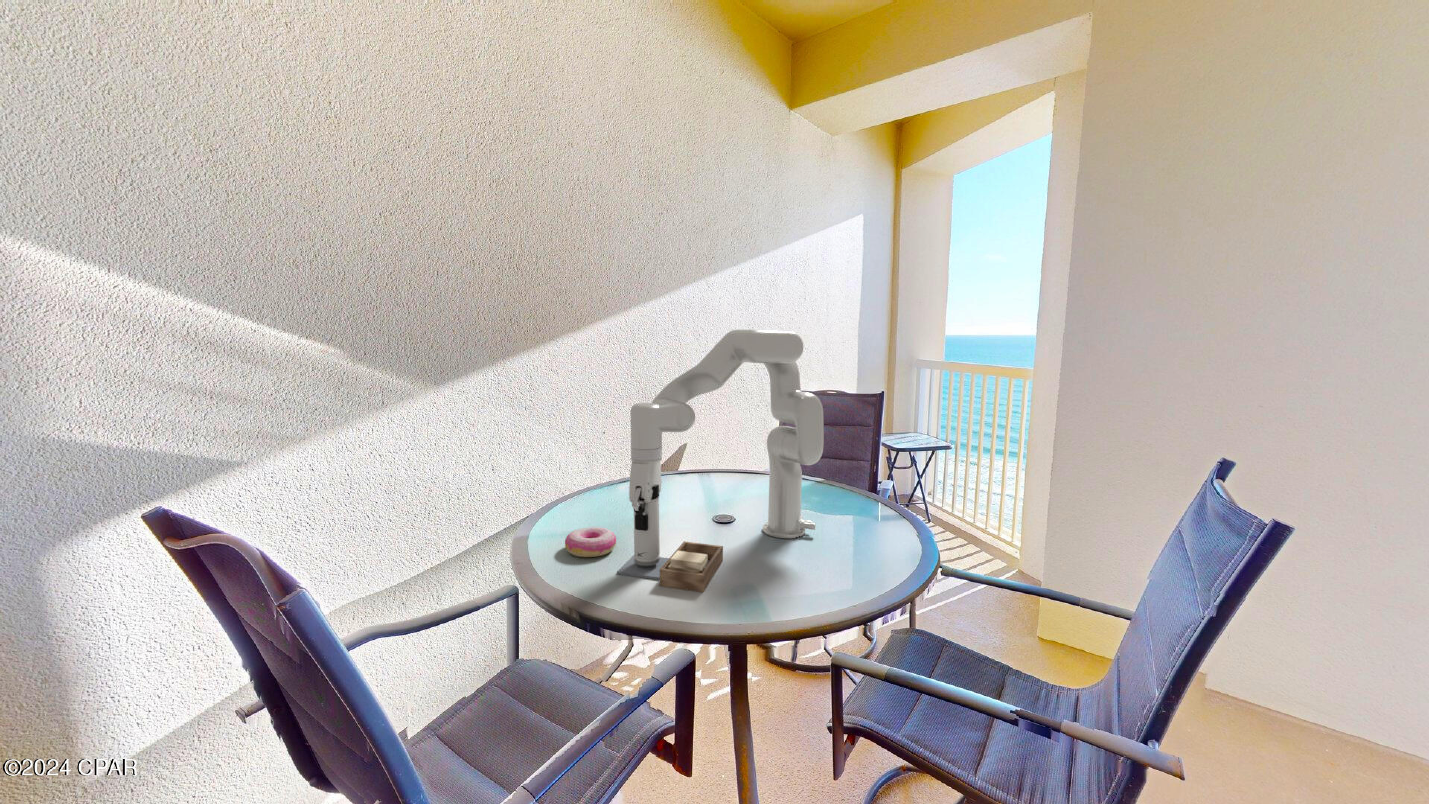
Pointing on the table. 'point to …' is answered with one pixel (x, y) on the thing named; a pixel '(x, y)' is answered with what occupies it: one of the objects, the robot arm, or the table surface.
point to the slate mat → (642, 569)
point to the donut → (590, 542)
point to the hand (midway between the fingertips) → (647, 524)
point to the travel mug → (648, 534)
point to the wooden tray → (689, 578)
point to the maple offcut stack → (688, 562)
